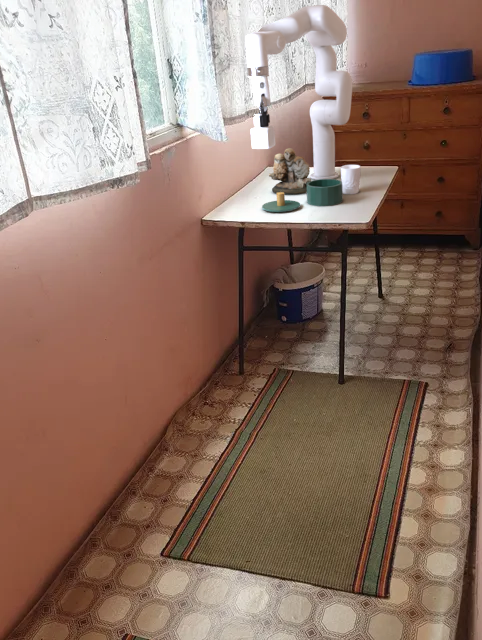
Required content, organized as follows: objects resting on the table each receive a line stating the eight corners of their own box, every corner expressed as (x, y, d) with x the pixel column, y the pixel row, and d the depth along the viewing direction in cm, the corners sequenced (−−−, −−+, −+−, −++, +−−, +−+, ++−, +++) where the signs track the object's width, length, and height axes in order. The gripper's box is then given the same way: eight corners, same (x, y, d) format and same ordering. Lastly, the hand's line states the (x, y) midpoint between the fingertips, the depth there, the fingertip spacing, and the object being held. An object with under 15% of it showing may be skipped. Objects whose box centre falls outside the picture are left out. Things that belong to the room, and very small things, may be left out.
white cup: (359, 194, 241) (359, 168, 236) (339, 194, 243) (339, 169, 238) (361, 189, 248) (361, 164, 243) (341, 190, 250) (341, 164, 244)
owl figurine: (266, 195, 250) (263, 151, 241) (273, 188, 260) (270, 146, 251) (309, 194, 246) (308, 150, 237) (314, 187, 256) (313, 145, 247)
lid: (258, 206, 236) (256, 191, 233) (293, 201, 239) (293, 186, 236) (267, 215, 224) (266, 200, 221) (305, 210, 227) (304, 194, 224)
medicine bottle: (258, 145, 236) (256, 112, 230) (275, 145, 234) (273, 111, 227) (251, 149, 231) (248, 115, 224) (268, 149, 228) (266, 114, 222)
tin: (302, 199, 240) (301, 181, 237) (335, 195, 243) (334, 177, 239) (313, 207, 229) (313, 189, 225) (347, 203, 232) (347, 184, 228)
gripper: (274, 72, 212) (277, 127, 222) (262, 70, 227) (266, 121, 236) (253, 75, 211) (257, 130, 220) (243, 71, 225) (247, 123, 235)
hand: (262, 125), depth 228 cm, fingers closed on medicine bottle, 6 cm apart
